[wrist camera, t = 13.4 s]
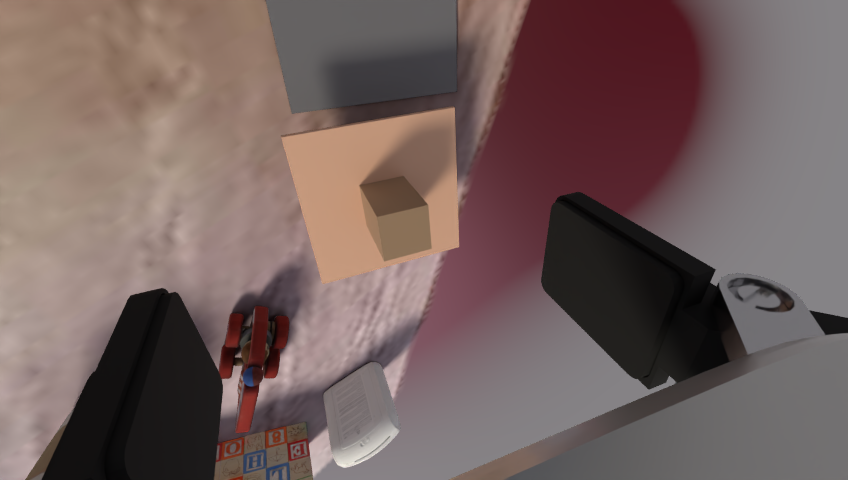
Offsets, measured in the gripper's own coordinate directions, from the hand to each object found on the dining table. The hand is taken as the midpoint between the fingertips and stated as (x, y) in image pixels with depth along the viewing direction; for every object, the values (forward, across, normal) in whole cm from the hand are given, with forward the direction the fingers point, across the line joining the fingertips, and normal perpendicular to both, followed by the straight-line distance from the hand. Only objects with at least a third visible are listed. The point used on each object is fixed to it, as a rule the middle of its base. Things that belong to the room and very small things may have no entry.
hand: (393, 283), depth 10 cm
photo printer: (+35, +1, +45) cm, 57 cm away
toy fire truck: (+35, +12, +30) cm, 47 cm away
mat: (+34, -8, -6) cm, 36 cm away
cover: (+28, -6, +11) cm, 30 cm away
